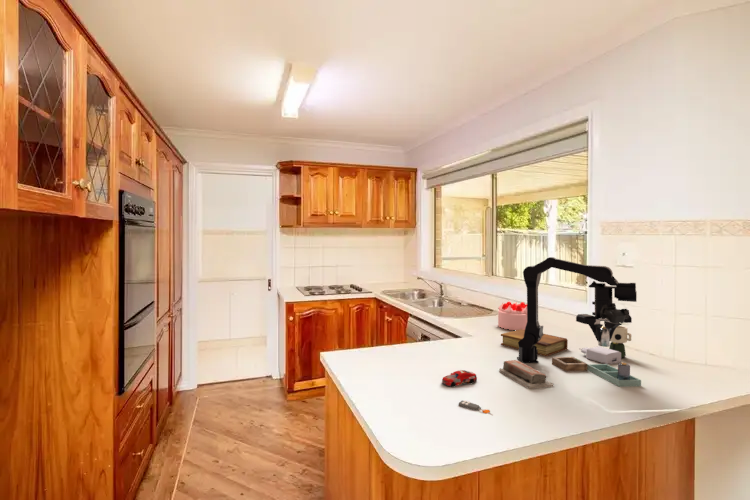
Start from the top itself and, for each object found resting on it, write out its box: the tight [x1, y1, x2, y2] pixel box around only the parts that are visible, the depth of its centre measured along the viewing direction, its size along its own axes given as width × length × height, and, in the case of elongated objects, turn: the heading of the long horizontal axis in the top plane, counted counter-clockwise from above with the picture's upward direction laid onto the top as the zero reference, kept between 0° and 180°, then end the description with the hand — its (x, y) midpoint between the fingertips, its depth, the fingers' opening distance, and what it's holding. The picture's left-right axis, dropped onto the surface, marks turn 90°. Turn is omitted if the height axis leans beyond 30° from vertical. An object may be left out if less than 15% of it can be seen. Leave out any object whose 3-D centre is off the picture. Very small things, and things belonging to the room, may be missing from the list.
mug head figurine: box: [608, 325, 632, 358], centre depth 163 cm, size 11×7×13 cm, turn 31°
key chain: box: [458, 400, 494, 416], centre depth 110 cm, size 13×4×2 cm, turn 52°
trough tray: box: [586, 363, 642, 388], centre depth 136 cm, size 8×17×2 cm, turn 5°
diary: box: [500, 329, 569, 357], centre depth 177 cm, size 23×19×6 cm
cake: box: [497, 301, 527, 331], centre depth 218 cm, size 20×20×14 cm
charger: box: [578, 345, 622, 365], centre depth 160 cm, size 5×9×15 cm
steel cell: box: [597, 326, 611, 348], centre depth 140 cm, size 4×4×7 cm
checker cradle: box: [551, 356, 588, 372], centre depth 147 cm, size 9×9×3 cm
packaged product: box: [498, 359, 554, 390], centre depth 136 cm, size 18×5×10 cm
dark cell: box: [617, 361, 631, 380], centre depth 131 cm, size 4×4×7 cm
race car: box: [441, 369, 478, 388], centre depth 131 cm, size 13×5×4 cm, turn 112°
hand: (603, 341), depth 140 cm, fingers closed on steel cell, 4 cm apart
